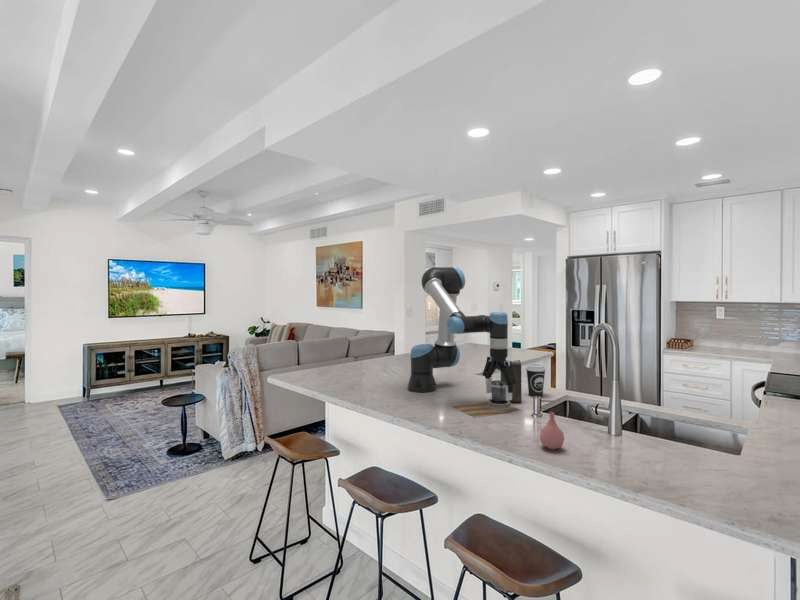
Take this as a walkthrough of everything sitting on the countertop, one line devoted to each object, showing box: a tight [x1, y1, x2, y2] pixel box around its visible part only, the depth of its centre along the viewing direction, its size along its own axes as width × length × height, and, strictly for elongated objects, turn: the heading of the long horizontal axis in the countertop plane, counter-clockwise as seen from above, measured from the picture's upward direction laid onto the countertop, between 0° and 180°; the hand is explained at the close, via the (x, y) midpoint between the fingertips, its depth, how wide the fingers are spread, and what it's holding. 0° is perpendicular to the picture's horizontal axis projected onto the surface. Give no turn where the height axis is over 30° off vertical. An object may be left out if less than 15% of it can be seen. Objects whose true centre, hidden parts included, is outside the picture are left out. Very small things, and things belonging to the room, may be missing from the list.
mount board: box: [451, 398, 522, 419], centre depth 181 cm, size 18×24×4 cm
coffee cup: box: [525, 363, 547, 398], centre depth 206 cm, size 10×10×15 cm
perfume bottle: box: [539, 411, 565, 451], centre depth 139 cm, size 8×8×12 cm
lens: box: [491, 379, 506, 404], centre depth 182 cm, size 6×6×11 cm
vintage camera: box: [499, 359, 523, 404], centre depth 201 cm, size 10×15×20 cm, turn 174°
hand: (498, 396), depth 182 cm, fingers open, 13 cm apart
